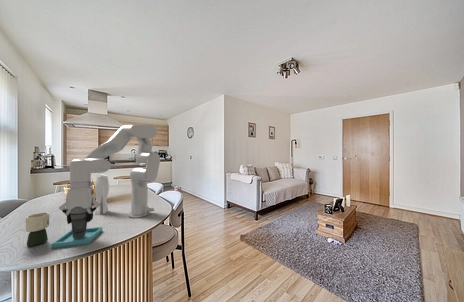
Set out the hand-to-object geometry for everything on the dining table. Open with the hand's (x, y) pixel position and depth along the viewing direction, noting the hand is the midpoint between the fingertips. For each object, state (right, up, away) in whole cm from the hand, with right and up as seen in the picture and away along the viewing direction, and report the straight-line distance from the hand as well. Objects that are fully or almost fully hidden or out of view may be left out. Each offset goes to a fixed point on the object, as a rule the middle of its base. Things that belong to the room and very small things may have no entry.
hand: (80, 221), depth 82 cm
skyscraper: (-17, -9, +35) cm, 40 cm away
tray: (0, -8, 0) cm, 8 cm away
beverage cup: (0, -7, 0) cm, 7 cm away
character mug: (-15, -8, -5) cm, 18 cm away
